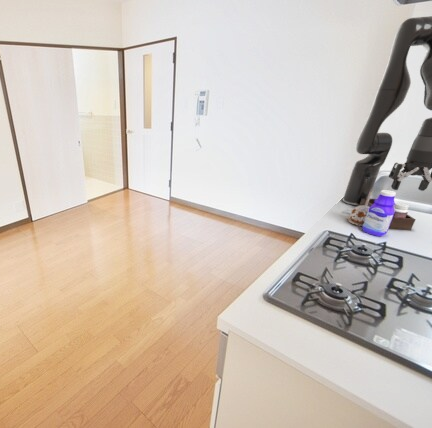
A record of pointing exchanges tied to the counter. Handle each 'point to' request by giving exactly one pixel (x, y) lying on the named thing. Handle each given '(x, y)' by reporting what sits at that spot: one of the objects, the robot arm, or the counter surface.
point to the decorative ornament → (360, 213)
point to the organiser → (396, 222)
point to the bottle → (380, 214)
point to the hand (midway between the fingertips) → (407, 189)
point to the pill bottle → (400, 210)
